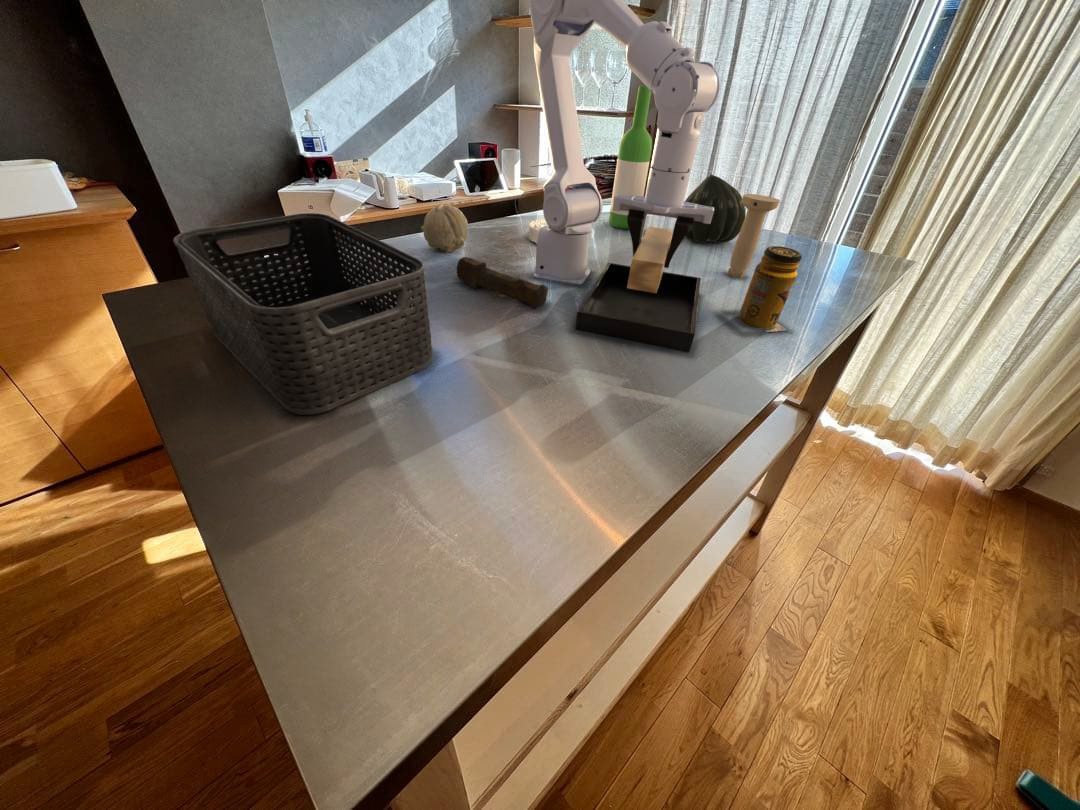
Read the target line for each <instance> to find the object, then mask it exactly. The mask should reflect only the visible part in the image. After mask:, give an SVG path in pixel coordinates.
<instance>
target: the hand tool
mask: <svg viewBox="0 0 1080 810" xmlns="http://www.w3.org/2000/svg"><path fill="white" fill-rule="evenodd" d="M456 276H457V279H458V280H460V281H462V282H463V283H464V284H466V285H468V286H470V287H472V288H474V289H482V288H484V289H486V290H489V291H491V292H493V293H498V294H501V295H503V296H506V297H507V298H508V297H509V298H512V299H514V300H517V301H519V302H521V303H523V304H528V305H531V306H532V309H533V310H537V309H539V308H541V307H542V306H543V307H544V305H545V303H546V302H547V297H548V292H549V288H548V286H547V285H546V284H543V283H542V284H538V283H533V282H531V281H529V280H525V279H524V278H521V277H515V276H511V275H509V274H506V273H502V272H500V271H497V270H495V269H492V268H490V267H487V263H486V262H484V261H481V260H480V261H479V260H477V259H474V258H472V257H467V256H462V257H461V258H460V259H459V260H458V261H457V266H456Z"/></svg>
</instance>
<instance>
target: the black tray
mask: <svg viewBox="0 0 1080 810" xmlns="http://www.w3.org/2000/svg"><path fill="white" fill-rule="evenodd" d="M630 268H631V265H627V264H626V265H625V264H619V263H614V262H607V263H606V265H605V266H604V268H603V269H602V271H601V273H600V275H598V278H597V280H596V281H595V283H594V284H593V286H591V289H590V290H589V292H588V294H587V295H586V297H585V299H584V300H583V302H582V303H581V305H580V307H579V308H578V310H577V311H576V320H575V331H579V332H583V333H589V334H593V335H599V336H605V337H609V338H614V339H619V340H623V341H628V342H634V343H639V344H643V345H649V346H653V347H658V348H663V349H668V350H673V351H678V352H683V353H687V354H690V351H691V349H692V345H693V342H694V339H695V335H696V326H697V318H698V309H699V307H698V306H699V300H700V299H699V298H700V290H701V289H700V288H701V280H702V279H701V277H698V276H692V275H686V274H680V273H675V272H674V273H673V272H668V271H663V274H662V278H661V281H660V284H659V287H658V290H657V293H651V292H645V291H640V290H634V289H629V288H627V284H628V279H629V273H630Z"/></svg>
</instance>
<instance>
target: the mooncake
mask: <svg viewBox="0 0 1080 810" xmlns="http://www.w3.org/2000/svg"><path fill="white" fill-rule="evenodd" d="M543 225H548V224H547V222H546V220H545V218H536V220H533V221H531V222H530V223H529V225H528V239H529V240H530V241H531V242H533V243H535V244H536V245H537V239H538V234H539V231H540V229H541V227H542V226H543Z"/></svg>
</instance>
